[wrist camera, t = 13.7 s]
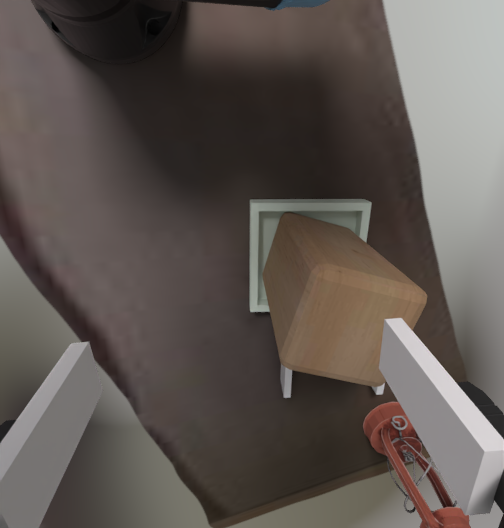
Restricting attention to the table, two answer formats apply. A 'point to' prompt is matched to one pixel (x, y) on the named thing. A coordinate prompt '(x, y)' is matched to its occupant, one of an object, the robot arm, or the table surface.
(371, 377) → the wooden block
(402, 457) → the lantern
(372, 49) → the table surface
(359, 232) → the tray
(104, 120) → the table surface
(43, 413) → the robot arm
